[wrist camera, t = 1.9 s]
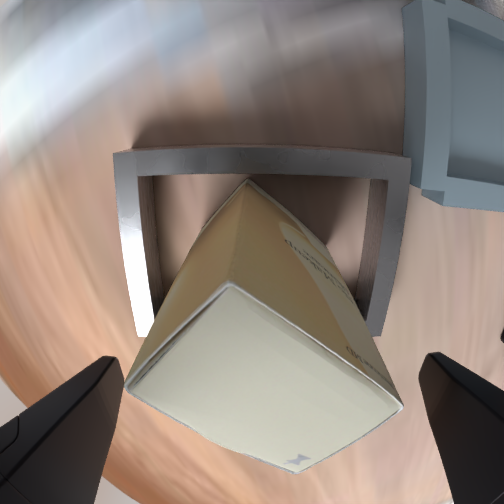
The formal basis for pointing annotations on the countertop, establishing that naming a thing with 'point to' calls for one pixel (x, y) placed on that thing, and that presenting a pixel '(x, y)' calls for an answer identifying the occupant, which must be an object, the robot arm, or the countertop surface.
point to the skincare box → (264, 342)
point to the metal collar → (261, 162)
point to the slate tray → (454, 103)
